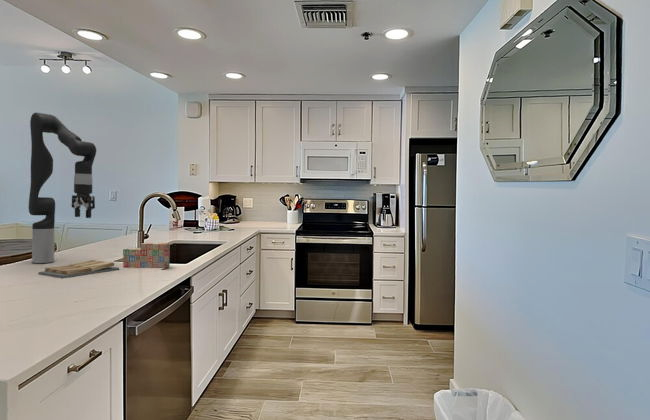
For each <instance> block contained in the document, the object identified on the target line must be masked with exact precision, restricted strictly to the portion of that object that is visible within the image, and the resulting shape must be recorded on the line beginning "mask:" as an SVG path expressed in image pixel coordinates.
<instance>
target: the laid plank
mask: <svg viewBox="0 0 650 420" xmlns="http://www.w3.org/2000/svg"><path fill="white" fill-rule="evenodd" d="M44 271H46V272H52V273H59V274H65V275H71V274H78V273H85V272H91V268H85V267H77V266H70V264H68V265H67V264H66V265H59V266H58V265H57V266H52V267H51V266H50V267H45V268H44Z"/></svg>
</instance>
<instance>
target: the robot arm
mask: <svg viewBox="0 0 650 420" xmlns="http://www.w3.org/2000/svg"><path fill="white" fill-rule="evenodd" d="M29 123H30V124H29V125H30V126H29V127H30V142H31V155H30V187H29V189H30V190H29V196H28V212H29V214H30V215H31V216H45V218H43V219H42V220H39V221H36V222H34V223H32V227H31V228H32V231H31V232H32V233H31V235H32V239H31V241H32V243H31V244H32V245H31V252H32V253H31V262H32V264H47V263H53V262H55V219H56V201H55V199H54V198H53V197H50V196H49V197H48V196H47V197H45V196H44V197H42V196H40V197H39V194H40V192H41V190H42V188H43V186H44V184H45V183H46V182H47V181H48V180H49V179H50V177H51V176H52V174H53V172H54V159H53V158H54V157H53V155H52V154H51V152H50V150H49V149H48V148H47V146H46V143H45V141H44V136H43V135H44V133H46V134H47V133H48V134H55V135H57V138H58V139H57V140H59V142H60V143H61V144H62V145H64V146H65V147H67V148H68V150H69V151H70V152H71V154H72V155H74V156H78V157H83V159H82V160H79V161H76V162H75V163H74V177H73V182H74V183H73V193H74V194H73V195H72V196H71V208H73V209H74V217H75V218H80V217H81V208H82V207H85V218H86V219H91V218H92V210H93V209H94V210H95V209H96V207H95V206H96V201H95V196H94V195H92V194H93V163H94V161H95V158H96V155H97V147H96V145H95V144H94V143H93V142H89V141H82V138H80V136H78V135H77V134H76V133H74V132H72V130H70V129H68V128H67V126H65V125H64V124H63V122H62V121H61V120H60V118H57V116H55V115H52V114H48V113H41V112H33V113H32V115H31V117H30V121H29ZM75 194H76V195H75Z"/></svg>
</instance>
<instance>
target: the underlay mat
mask: <svg viewBox="0 0 650 420" xmlns="http://www.w3.org/2000/svg"><path fill="white" fill-rule="evenodd" d="M113 271H120V267H116V266H112V267H107V268H103V269H99V270H95V271H91V272H85V273H78V274H71V275H65V274H59V273H52V272H46V271H45V270H44V271H39V272H38V273H37V274H38V275H39V276H40V275H41V276H46V277H47V276H48V277H52V278H53V277H54V278H58V279H67V278H74V277H80V276H87V275H94V274H101V273H106V272H113Z"/></svg>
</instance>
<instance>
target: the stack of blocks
mask: <svg viewBox="0 0 650 420" xmlns="http://www.w3.org/2000/svg"><path fill="white" fill-rule="evenodd" d="M170 243H171V242H143V243H140V247H128V248H123V249H122V251H123V252H122V256H123V257H122V261H123V263H122V265H123V268H131V269H132V268H137V269H141V268H142V269H167V268H170V264H171V263H170V260H171V259H170V254H171V253H170V252H171V250H170V247H171V246H170V245H171V244H170Z"/></svg>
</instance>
